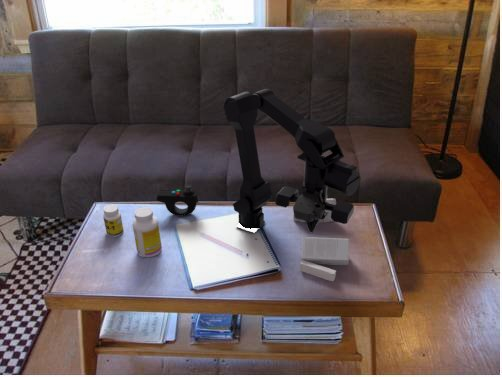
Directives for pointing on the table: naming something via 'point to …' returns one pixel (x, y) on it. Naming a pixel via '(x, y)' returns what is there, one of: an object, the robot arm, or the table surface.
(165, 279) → the table surface
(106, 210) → the supplement bottle
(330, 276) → the u rest
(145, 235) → the supplement bottle
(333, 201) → the cassette
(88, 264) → the table surface
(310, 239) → the skincare box
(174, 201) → the controller
